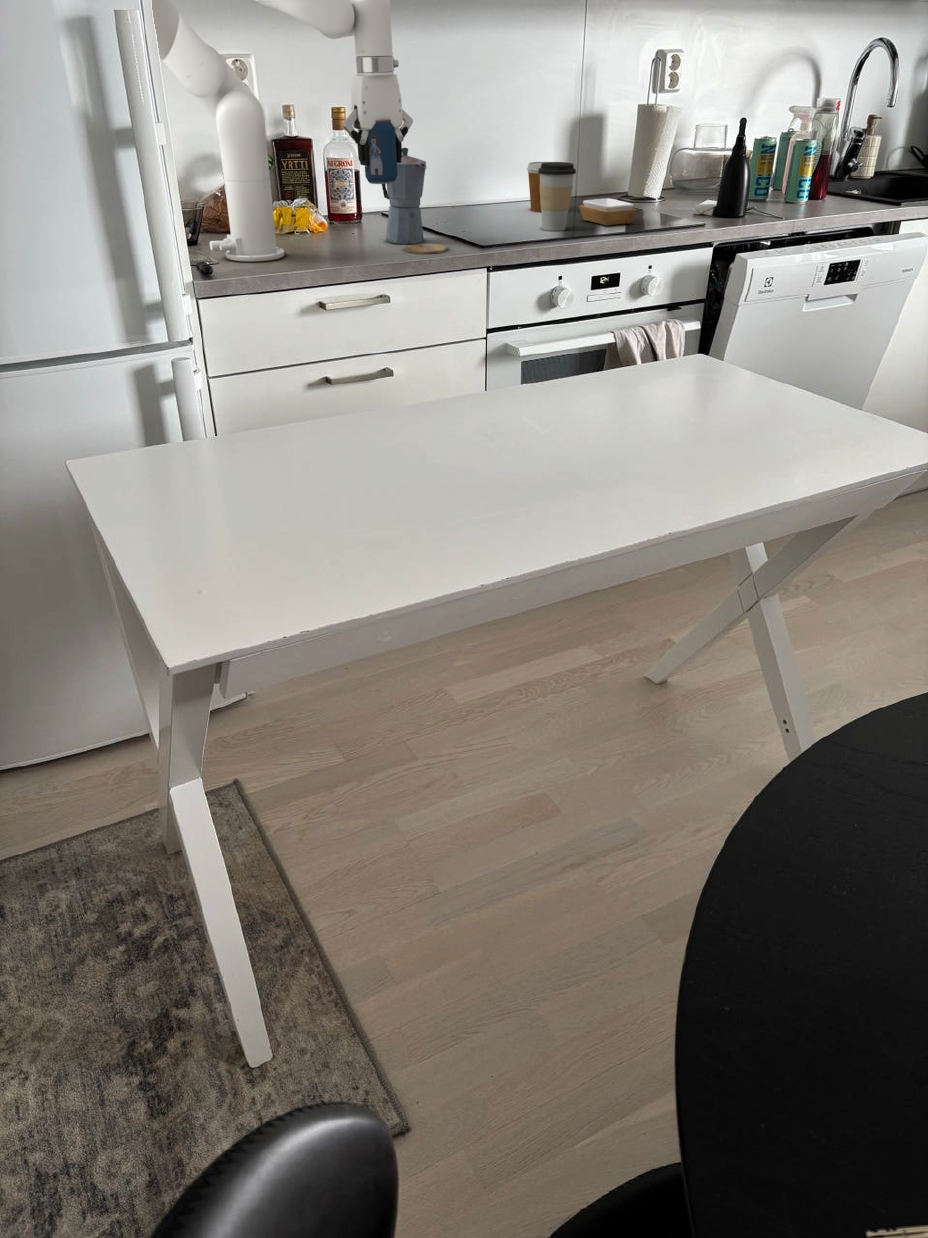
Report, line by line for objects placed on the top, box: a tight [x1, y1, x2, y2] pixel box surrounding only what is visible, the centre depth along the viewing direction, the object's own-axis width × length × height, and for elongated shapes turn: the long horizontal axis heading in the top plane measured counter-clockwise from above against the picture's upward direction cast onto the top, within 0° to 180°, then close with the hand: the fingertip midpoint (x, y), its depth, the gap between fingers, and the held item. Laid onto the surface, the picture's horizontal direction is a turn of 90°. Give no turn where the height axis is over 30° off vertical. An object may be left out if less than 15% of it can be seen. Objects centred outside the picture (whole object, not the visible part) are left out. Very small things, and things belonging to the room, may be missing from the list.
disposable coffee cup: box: [526, 161, 546, 213], centre depth 259 cm, size 10×10×12 cm
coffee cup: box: [538, 161, 577, 232], centre depth 232 cm, size 9×9×15 cm
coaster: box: [405, 243, 447, 255], centre depth 211 cm, size 9×9×1 cm
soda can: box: [364, 120, 398, 185], centre depth 197 cm, size 7×7×12 cm
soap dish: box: [578, 197, 638, 227], centre depth 243 cm, size 12×10×5 cm
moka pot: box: [381, 147, 428, 245], centre depth 215 cm, size 10×15×20 cm, turn 53°
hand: (380, 162), depth 198 cm, fingers closed on soda can, 7 cm apart
